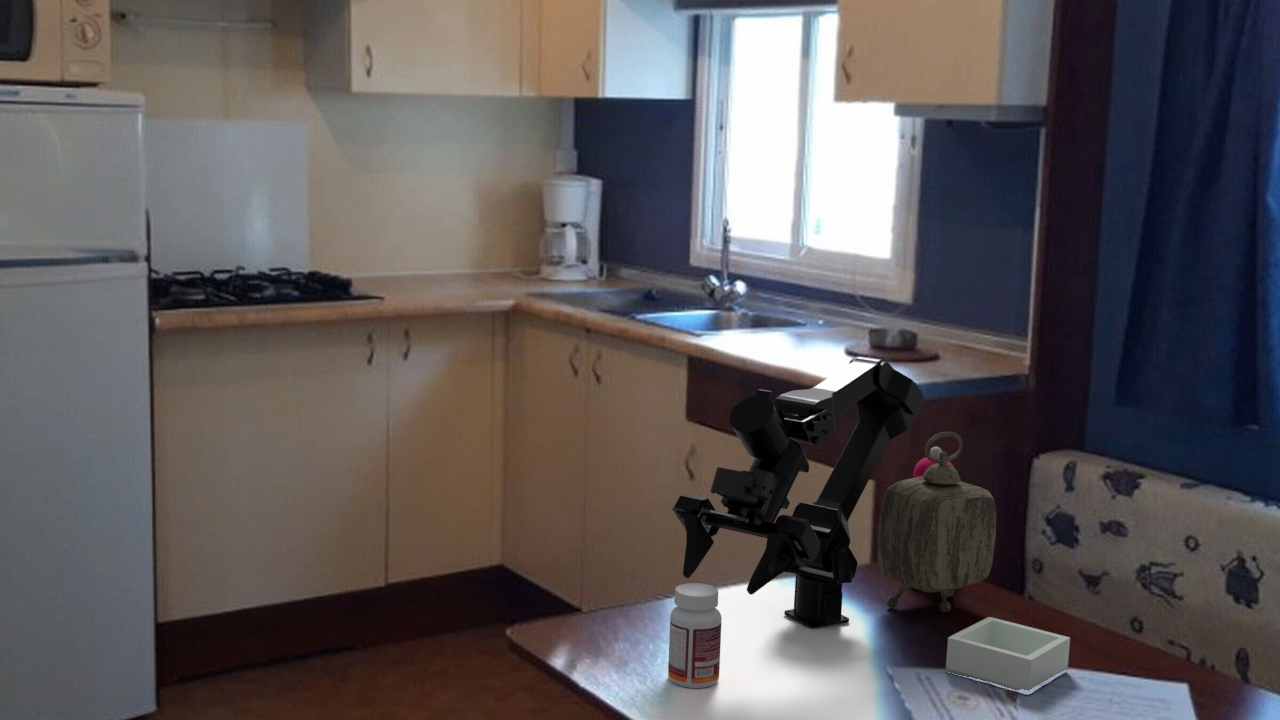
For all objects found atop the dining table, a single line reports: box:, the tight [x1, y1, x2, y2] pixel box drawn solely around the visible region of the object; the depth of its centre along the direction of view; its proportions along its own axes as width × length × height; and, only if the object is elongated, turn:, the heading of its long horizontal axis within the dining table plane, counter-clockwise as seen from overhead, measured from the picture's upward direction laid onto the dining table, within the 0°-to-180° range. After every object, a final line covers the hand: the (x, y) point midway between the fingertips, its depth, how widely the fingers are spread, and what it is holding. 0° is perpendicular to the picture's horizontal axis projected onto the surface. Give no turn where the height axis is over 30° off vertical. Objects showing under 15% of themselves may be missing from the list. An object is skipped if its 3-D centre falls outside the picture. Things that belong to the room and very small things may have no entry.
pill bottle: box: [667, 582, 723, 689], centre depth 186 cm, size 6×6×11 cm
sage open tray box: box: [945, 616, 1071, 691], centre depth 193 cm, size 11×11×4 cm
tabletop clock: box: [877, 431, 997, 614], centre depth 215 cm, size 14×9×25 cm, turn 124°
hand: (716, 584), depth 189 cm, fingers open, 9 cm apart
